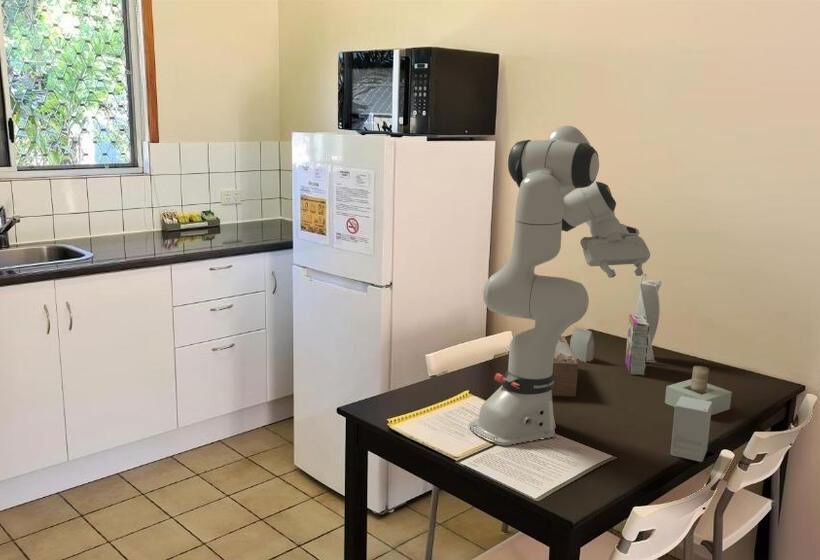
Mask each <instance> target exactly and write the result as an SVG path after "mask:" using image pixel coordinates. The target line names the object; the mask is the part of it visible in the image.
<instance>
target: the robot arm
mask: <svg viewBox="0 0 820 560" xmlns="http://www.w3.org/2000/svg"><path fill="white" fill-rule="evenodd" d="M507 168H508V173H509V176H510V177H511V179H512V180H513V181H514V183H516V185H517V187H518V188H519V189H518V193H517V199H516V205H515V216H514V218H515V219H514V236H513V244H512V249H511V253H510V256H509V258H508V260H506V263H505V264H504V265H503V267H501V268H500V269H499V270H498V271H496V272H494V273H493V274H492V275H491V276H490V277H489V278H488V279H487V280H486V282H485V284H484V287H483V292H482V293H483V294H482V296H483V297H482V298H483V302H484V304H485V306H486V308H487V309H488V310H489V311H490V312H493V313H496V314H499V315H503V316H505V317H511V318H519V319H528V320H532V321H534V327H533V328H530V329H527V330H524V331H522V332H520V333H517V334H516V335H515V336H514V337H512V339H511V340H510V343H509V347H508V348H509V351H508V368H507V369H506V372H505V374H501V373H499V372H497V373H496V374H495V375H494V376H493V377H494V381H496V382H499V383H500V384H501V386H499V388H497V389H496V390H495V392H494V393H493V394H492V395H490V397H488V399H486V400H485V401H484V402H483V403H482V404H481V406H480V410H479V413H478V414H479V415H478V418H476V419H474V420H472V421H470V422H469V424H468V427H469V426H470V428H471V429H472V430H473V431H475V432H476V433H478V434H480V435H481V436H483V437H485V438H488V439H490V440H493V441H494V442H495V445H499V446H502V447H503V446H505V447H507V446H512V444H513V445H517V444H516V443H519V444H522V443H521V442H524V443H527V442H526V441H530V442H532V441H531V440H536V439H541V438H548V439H550V438H549V437H553V438H555V437H556V431H555V429H556V427H557V425H556V421H555V418H554V417H555V416H554V407H553V406H554V404H553V395H552V389H553V387H554V373H553V362H554V354H555V349H556V345H557V342H558V340H559V338H560V336H563V334H564V332H565V331H566V330H567V329H568V328H570V327H571V326H572V325H574V324H576V323H577V322H579V321H580V320H581V319H582V318H583V317H584V316H585V314H586V312H588V309H589V301H590V300H589V293H588V291H587V289H586V287H585V286H584V284H582V283H581V282H578V281H575V280H572V279H568V278H567V277H566V278H565V277H560V276H559V277H558V276H550V275H548V276H547V275H540V274H539V275H538V274H536V273H535V268H536V267H537V266H539V265H542V264H546V263H547V262H549V261H552V260H554V259H555V258H557V256H558V255H559V253H560V251H561V248H562V247H561V246H562V245H561V244H562V232H567V233H568V232H569V231H571V230H573V229H575V228H577V227H578V226H580V225H583V224H584V223H586V225H587V226H588V227H589V231H590V235H591V236H584V237H582V238H581V239H580V241H579V243H580V245H581V248H582V252H583V254H584V255H583V256H584V259H585V263H586V264H587V265H588V266H589V267H600V269H601V270H602V271H603V272H604V273H605V274H607V277H608V278H610V279H611V278H615V277H616V271H615V269H612V268H611V267H610V266H620V265H621V266H622V265H623V266H624V265H633V266H634V267H636V269H634V274H635V276H636V277H642V276H643V275H644V270H643V268H642V267H643V264H645V263H646V262H648V260H650V257H651V251H650V250H649V247H648V246H647V244H646V242H645V239H644V238H643V237H642V236H639V235H640V231H639V229H638V228H636V227H634V226H630V225H626V224H624V223H620V220H619V219H618V218H617V217H616V215H615V214H616V213H615V209H616V208H617V207H616V206H617V201H616V199H615V198H614V197H613V195H612V191H611V188H610V187H609V185H608V184H606V183H605V182H601V181H596V179H597V176H598V174H599V170H600V169H599V168H600V159H599V153H598V151H597V150H596V149H595V148H594V146H592V145H591V143H590V141H589V140H588V139H587V138H586V136H585V134H584V133H582V131H581V130H580V129H578V128H576V127H575V126H572V125H562V126H559V127H557V128H555V129H554V130H553V131H551V132H550V134H549V135H548V137H547V139H544V140H542V139H541V140H540V139H539V140H531V139H526V140H525V139H524V140H520V141H516V142H515V144H514V145H513V146H512V147H511V149H510V151H509V154H508V160H507ZM474 427H476V428H474ZM470 428H469V429H470ZM495 438H496V439H497V440H495ZM536 441H537V440H536Z"/></svg>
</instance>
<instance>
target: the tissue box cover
mask: <svg viewBox="0 0 820 560" xmlns="http://www.w3.org/2000/svg"><path fill="white" fill-rule="evenodd" d="M578 370H579V363H578V360H577V359H576V358H575V356H574V355H573V353H572V351H571V349H570V344H569V343H568V341H567V339H566V337H565V336H563V335H561V336H560V338H559V340H558V342H557V345H556V349H555V354H554V362H553V373H554V387H553V389H552V397H553V396H555V397H557V396H558V397H576V396H577V395H576V394H577V383H578V373H579V371H578Z"/></svg>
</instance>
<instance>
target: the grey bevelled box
mask: <svg viewBox="0 0 820 560" xmlns="http://www.w3.org/2000/svg"><path fill="white" fill-rule="evenodd" d="M569 341H570V342H569V347H570V349H571V351H572V353H573V355H574V356H575V358H576V360H577V359H579V360H578V361H580V360H581V361H580V362H583V361H584V363H588V362H587V361H589V362H592V361H593V360H594V349H595V341H594V336H593V331H592V330H587V329H584V328H582V327H578V326H574V328H573V332H572V335H571V338H570V339H569ZM591 360H592V361H591Z"/></svg>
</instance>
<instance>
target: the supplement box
mask: <svg viewBox="0 0 820 560" xmlns="http://www.w3.org/2000/svg"><path fill="white" fill-rule="evenodd" d="M711 409H712V402H710V401H705V400H700V399H694V398H689V397H684V396H681V397H680V399H679V400H678V402H677V403H676V405H675V407H674V412H673V413H674V414H673V422H672V434H671V435H672V436H671V443H670V444H671V446H670V456H674V457H678V458H683V459H686V460H691V461H696V462H700V463H703V461H704V459H705V457H706V454H707V453H708V444H709V435H710V426H711V417H712V415H711Z"/></svg>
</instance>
